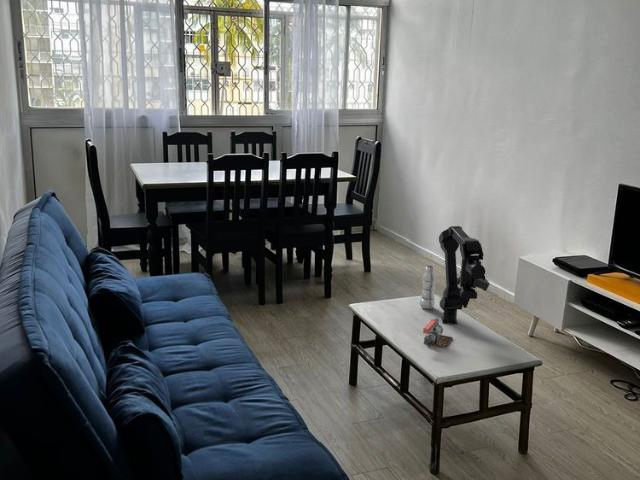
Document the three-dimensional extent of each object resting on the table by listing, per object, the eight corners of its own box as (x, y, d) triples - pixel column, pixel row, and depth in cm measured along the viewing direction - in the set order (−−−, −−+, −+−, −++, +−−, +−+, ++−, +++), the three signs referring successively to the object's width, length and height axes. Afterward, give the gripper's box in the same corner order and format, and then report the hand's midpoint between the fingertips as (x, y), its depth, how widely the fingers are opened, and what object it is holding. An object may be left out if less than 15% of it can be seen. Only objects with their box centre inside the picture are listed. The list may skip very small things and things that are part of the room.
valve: (431, 333, 258) (432, 318, 256) (453, 338, 254) (454, 323, 252) (422, 344, 248) (423, 329, 246) (444, 349, 244) (446, 333, 242)
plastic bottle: (426, 304, 290) (429, 263, 284) (437, 308, 285) (440, 267, 279) (416, 307, 286) (419, 266, 280) (428, 312, 281) (431, 269, 275)
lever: (439, 323, 250) (440, 318, 250) (429, 334, 240) (429, 329, 239) (432, 322, 252) (432, 316, 251) (421, 333, 241) (421, 327, 241)
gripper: (492, 279, 238) (488, 317, 242) (485, 264, 255) (482, 300, 260) (462, 277, 239) (459, 315, 243) (458, 263, 257) (455, 298, 261)
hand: (465, 307), depth 252 cm, fingers closed
